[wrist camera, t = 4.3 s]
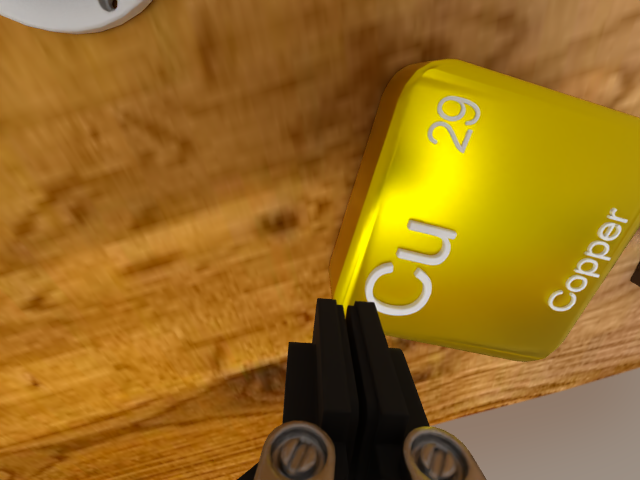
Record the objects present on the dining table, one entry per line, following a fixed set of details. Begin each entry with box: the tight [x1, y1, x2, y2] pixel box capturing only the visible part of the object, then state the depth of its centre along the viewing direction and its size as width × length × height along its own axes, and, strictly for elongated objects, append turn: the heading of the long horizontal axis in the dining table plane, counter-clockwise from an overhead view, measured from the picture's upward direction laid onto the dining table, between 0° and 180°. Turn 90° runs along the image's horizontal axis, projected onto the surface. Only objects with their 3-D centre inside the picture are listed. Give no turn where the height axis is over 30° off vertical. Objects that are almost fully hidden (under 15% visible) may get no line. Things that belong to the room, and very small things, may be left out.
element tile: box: [329, 58, 640, 362], centre depth 21 cm, size 15×15×5 cm
